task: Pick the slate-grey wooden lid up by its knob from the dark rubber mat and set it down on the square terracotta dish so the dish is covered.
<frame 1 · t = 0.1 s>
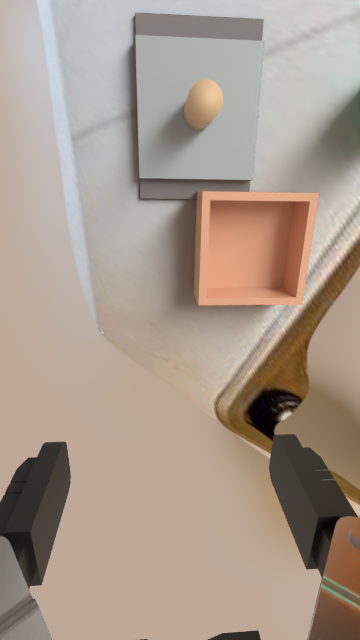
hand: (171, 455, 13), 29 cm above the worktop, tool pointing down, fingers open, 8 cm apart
lid: (197, 115, 34), resting on mat
dish: (244, 244, 39), on the worktop
mat: (196, 116, 34), on the worktop
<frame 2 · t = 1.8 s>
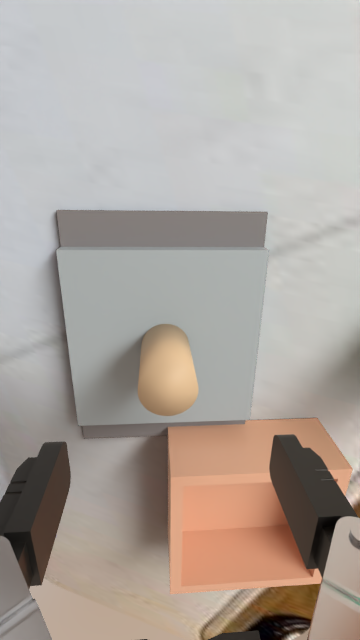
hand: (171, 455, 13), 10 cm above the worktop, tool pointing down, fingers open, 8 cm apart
lid: (164, 338, 22), resting on mat
dish: (237, 477, 28), on the worktop
mat: (164, 336, 22), on the worktop
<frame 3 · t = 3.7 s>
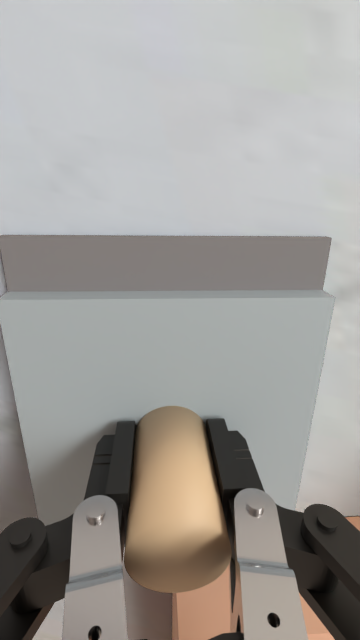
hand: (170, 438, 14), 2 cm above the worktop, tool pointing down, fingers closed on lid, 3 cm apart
lid: (169, 420, 15), resting on mat, touching gripper
dish: (267, 588, 20), on the worktop
mat: (169, 414, 15), on the worktop
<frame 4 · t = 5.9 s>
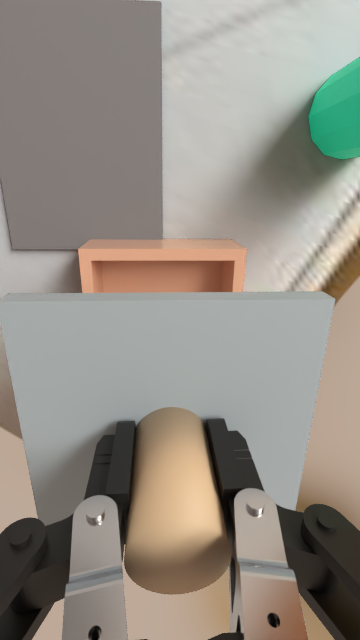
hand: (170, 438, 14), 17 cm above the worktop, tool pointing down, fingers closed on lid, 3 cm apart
candle: (345, 116, 25), on the worktop
lid: (169, 421, 15), point 16 cm above the worktop, touching gripper
dish: (162, 305, 30), on the worktop
mat: (80, 139, 25), on the worktop
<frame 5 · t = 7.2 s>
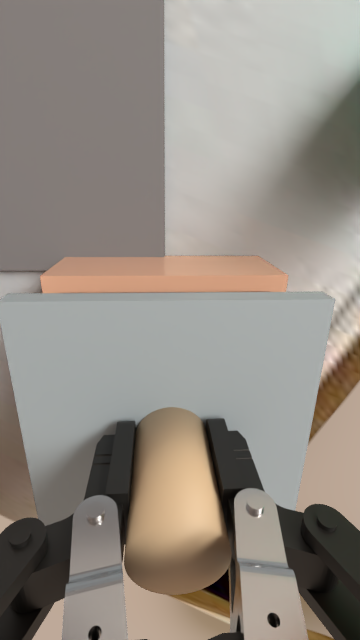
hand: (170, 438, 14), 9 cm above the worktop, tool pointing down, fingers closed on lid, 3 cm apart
lid: (169, 421, 15), point 8 cm above the worktop, touching gripper
dish: (164, 342, 22), on the worktop
mat: (47, 115, 17), on the worktop
when the fingers open (7 cm above the worktop, at t = 8.3 s): lid stays where it is, resting on dish.
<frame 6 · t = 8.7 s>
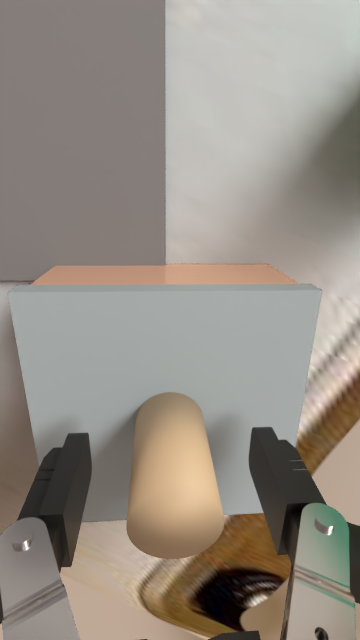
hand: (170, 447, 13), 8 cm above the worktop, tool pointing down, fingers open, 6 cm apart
lid: (168, 407, 16), point 5 cm above the worktop, touching dish
dish: (165, 358, 20), on the worktop
mat: (34, 108, 15), on the worktop
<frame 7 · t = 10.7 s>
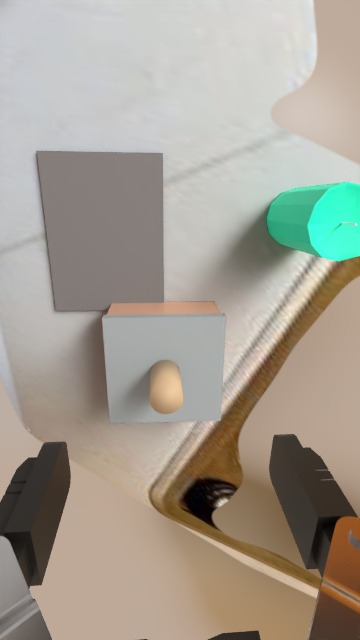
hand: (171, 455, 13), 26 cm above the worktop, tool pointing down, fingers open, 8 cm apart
candle: (292, 218, 36), on the worktop
lid: (165, 368, 35), point 5 cm above the worktop, touching dish
dish: (164, 348, 40), on the worktop
mat: (106, 236, 35), on the worktop
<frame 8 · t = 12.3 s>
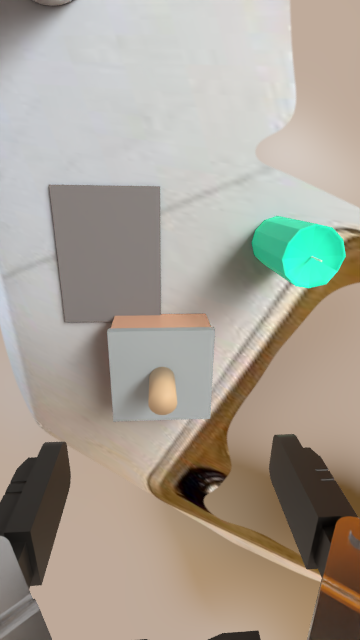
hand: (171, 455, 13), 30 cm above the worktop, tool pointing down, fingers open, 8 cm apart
candle: (275, 241, 41), on the worktop
lid: (161, 373, 40), point 5 cm above the worktop, touching dish
dish: (161, 354, 45), on the worktop
mat: (110, 258, 40), on the worktop
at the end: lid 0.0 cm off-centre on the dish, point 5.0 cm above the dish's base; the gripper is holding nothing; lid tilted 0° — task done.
